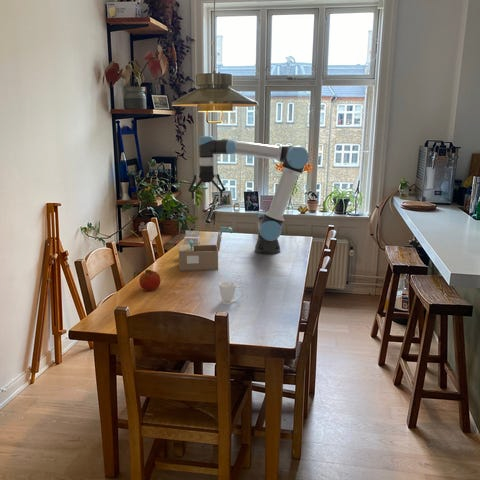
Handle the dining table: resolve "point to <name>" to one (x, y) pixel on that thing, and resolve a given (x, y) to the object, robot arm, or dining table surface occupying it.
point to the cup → (228, 292)
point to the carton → (199, 258)
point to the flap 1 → (187, 247)
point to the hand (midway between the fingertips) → (207, 204)
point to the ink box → (192, 237)
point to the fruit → (149, 280)
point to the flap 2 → (221, 234)
